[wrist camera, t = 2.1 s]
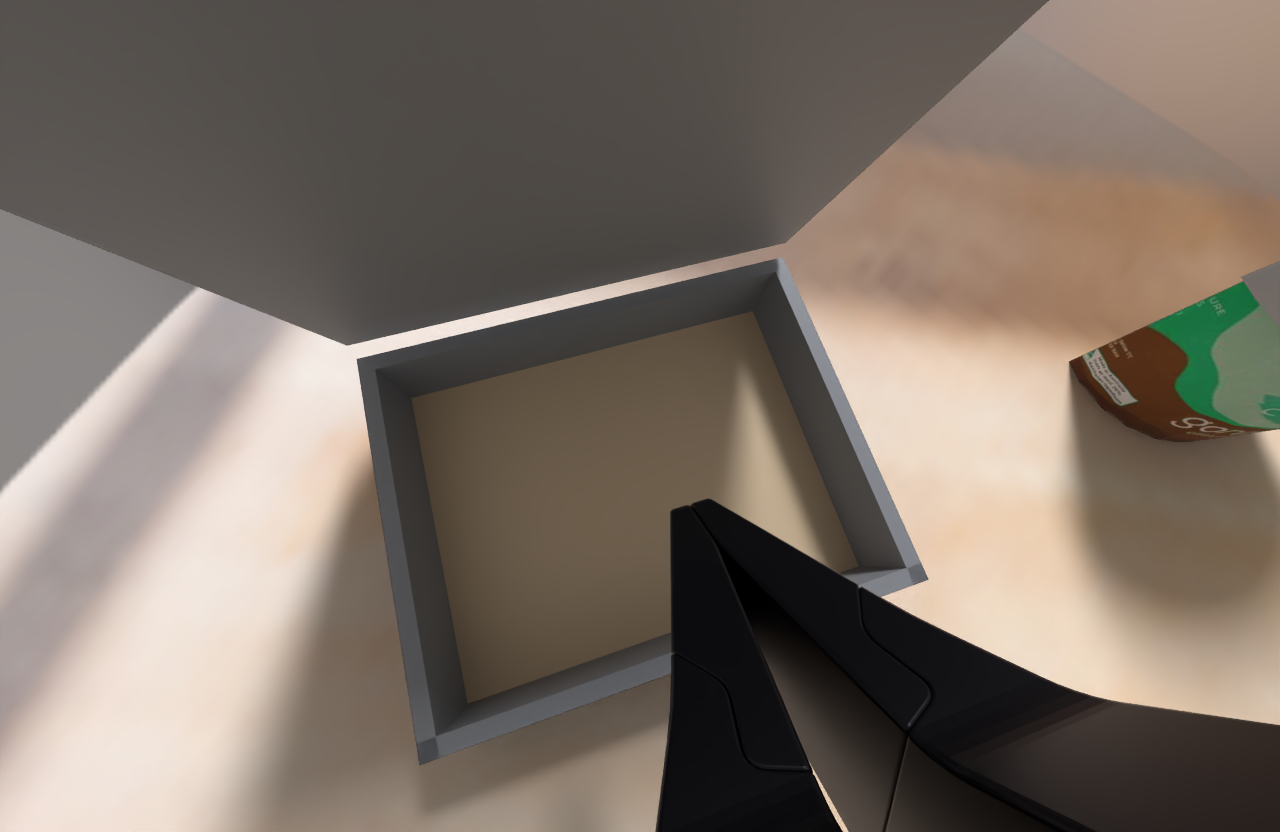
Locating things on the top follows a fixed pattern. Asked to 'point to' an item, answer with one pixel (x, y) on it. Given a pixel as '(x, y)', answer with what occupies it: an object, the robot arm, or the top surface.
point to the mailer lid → (456, 137)
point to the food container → (1197, 366)
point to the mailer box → (602, 487)
